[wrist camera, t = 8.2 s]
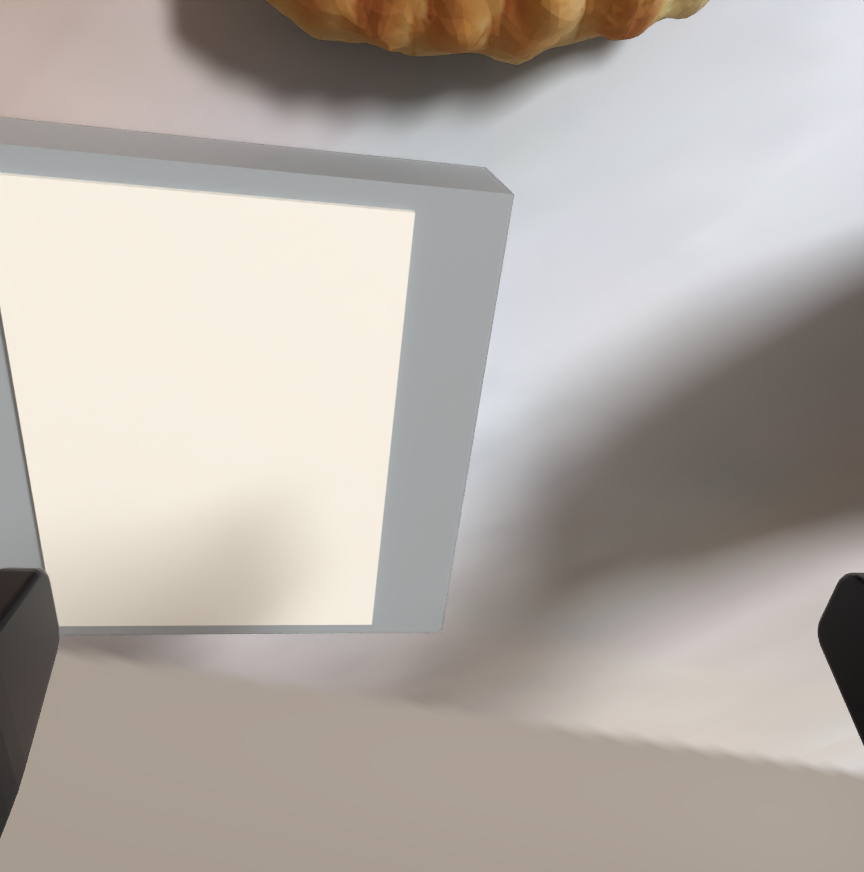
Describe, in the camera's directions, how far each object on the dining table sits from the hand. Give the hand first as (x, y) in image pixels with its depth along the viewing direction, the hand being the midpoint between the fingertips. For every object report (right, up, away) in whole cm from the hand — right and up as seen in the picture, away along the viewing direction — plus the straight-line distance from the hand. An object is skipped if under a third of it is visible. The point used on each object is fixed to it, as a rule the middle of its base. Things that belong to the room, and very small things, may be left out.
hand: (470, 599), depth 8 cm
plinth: (-6, +3, +11) cm, 13 cm away
